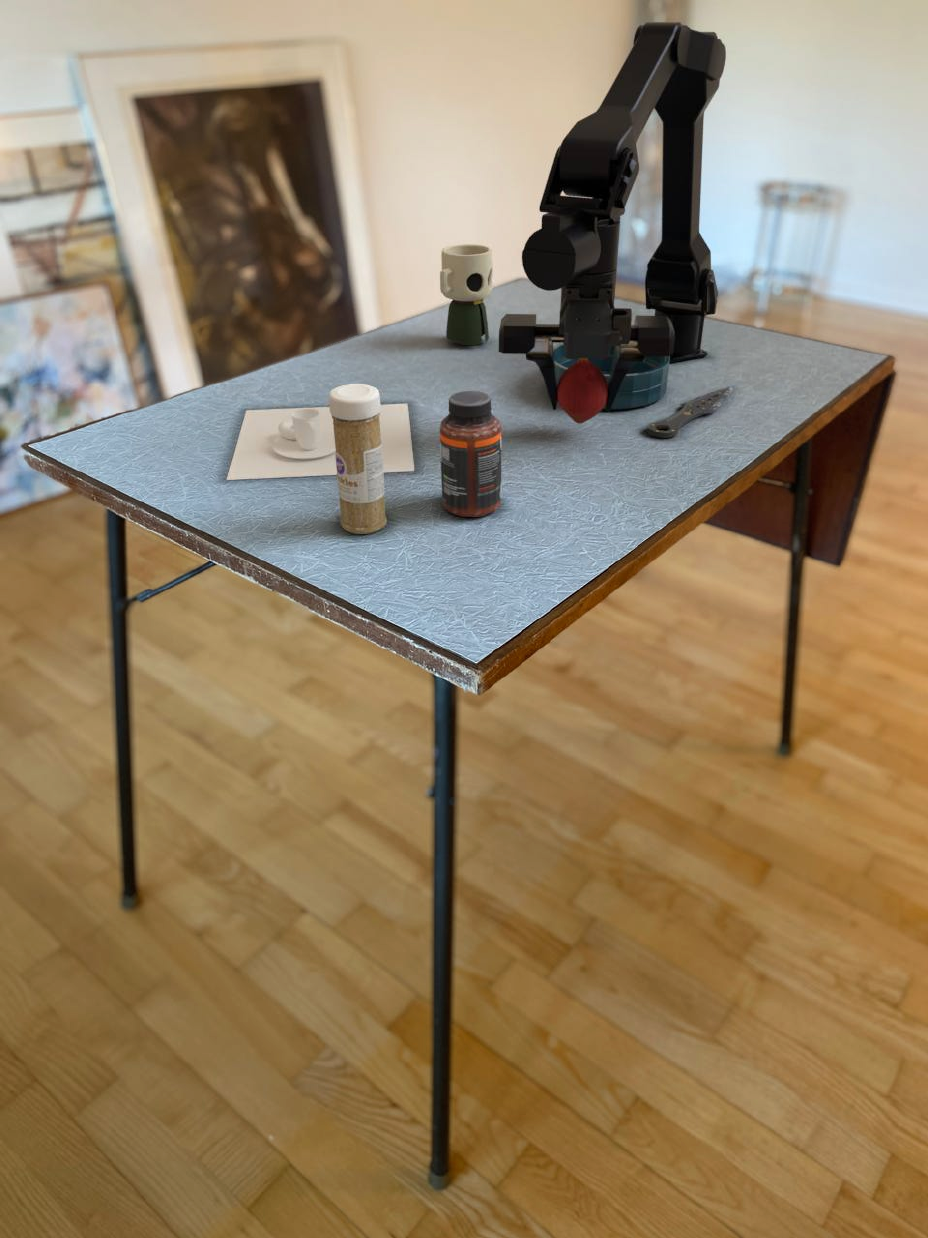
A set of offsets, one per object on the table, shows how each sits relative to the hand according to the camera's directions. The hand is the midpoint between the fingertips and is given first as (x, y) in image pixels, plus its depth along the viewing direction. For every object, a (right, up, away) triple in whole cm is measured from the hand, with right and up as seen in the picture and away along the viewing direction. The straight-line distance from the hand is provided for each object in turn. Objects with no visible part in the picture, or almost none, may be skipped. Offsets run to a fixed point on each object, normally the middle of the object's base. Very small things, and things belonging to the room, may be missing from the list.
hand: (580, 409), depth 107 cm
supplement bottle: (-13, -13, -13) cm, 22 cm away
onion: (0, -2, +1) cm, 2 cm away
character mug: (-13, +17, +31) cm, 37 cm away
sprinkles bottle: (-23, -15, -16) cm, 32 cm away
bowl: (+5, +6, +13) cm, 15 cm away
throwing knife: (+15, +1, +7) cm, 17 cm away
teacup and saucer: (-30, -3, +1) cm, 30 cm away
